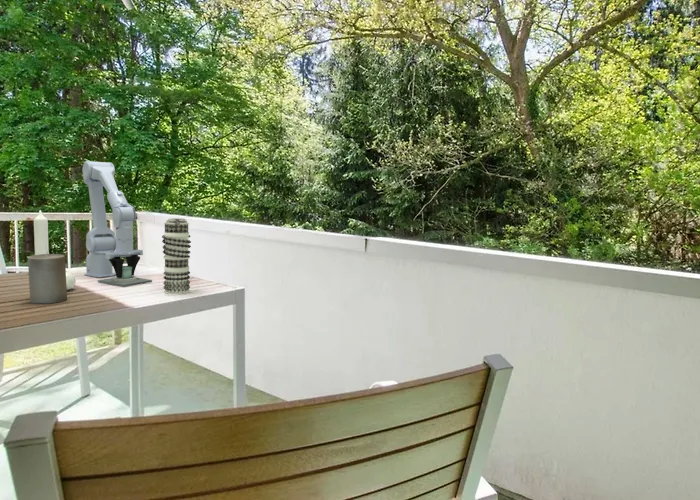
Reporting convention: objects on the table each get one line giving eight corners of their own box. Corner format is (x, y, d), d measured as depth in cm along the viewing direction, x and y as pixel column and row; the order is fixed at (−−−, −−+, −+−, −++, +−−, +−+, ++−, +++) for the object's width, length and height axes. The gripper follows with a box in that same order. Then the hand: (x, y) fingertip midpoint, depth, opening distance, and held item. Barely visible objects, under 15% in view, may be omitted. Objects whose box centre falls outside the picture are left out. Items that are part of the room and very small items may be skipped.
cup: (119, 281, 179) (119, 267, 179) (116, 279, 183) (116, 266, 182) (133, 280, 182) (133, 267, 181) (130, 278, 186) (130, 265, 185)
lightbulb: (60, 278, 157) (69, 265, 167) (41, 287, 157) (52, 274, 167) (73, 293, 160) (81, 279, 170) (55, 303, 160) (65, 288, 170)
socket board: (97, 282, 180) (97, 277, 180) (126, 277, 191) (126, 273, 191) (124, 287, 174) (124, 281, 174) (151, 282, 185) (151, 277, 185)
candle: (27, 275, 188) (24, 209, 185) (43, 273, 195) (41, 209, 192) (41, 277, 186) (39, 210, 183) (57, 274, 193) (55, 210, 190)
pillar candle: (59, 295, 158) (57, 248, 156) (72, 300, 152) (70, 252, 150) (24, 300, 150) (22, 251, 148) (36, 305, 144) (33, 254, 142)
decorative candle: (162, 289, 172) (161, 217, 169) (190, 288, 176) (190, 218, 173) (162, 295, 164) (161, 219, 161) (191, 294, 167) (191, 219, 164)
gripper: (114, 241, 173) (115, 280, 174) (148, 239, 185) (148, 274, 187) (101, 240, 176) (101, 278, 177) (135, 237, 189) (135, 272, 190)
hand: (125, 276), depth 182 cm, fingers closed on cup, 5 cm apart
